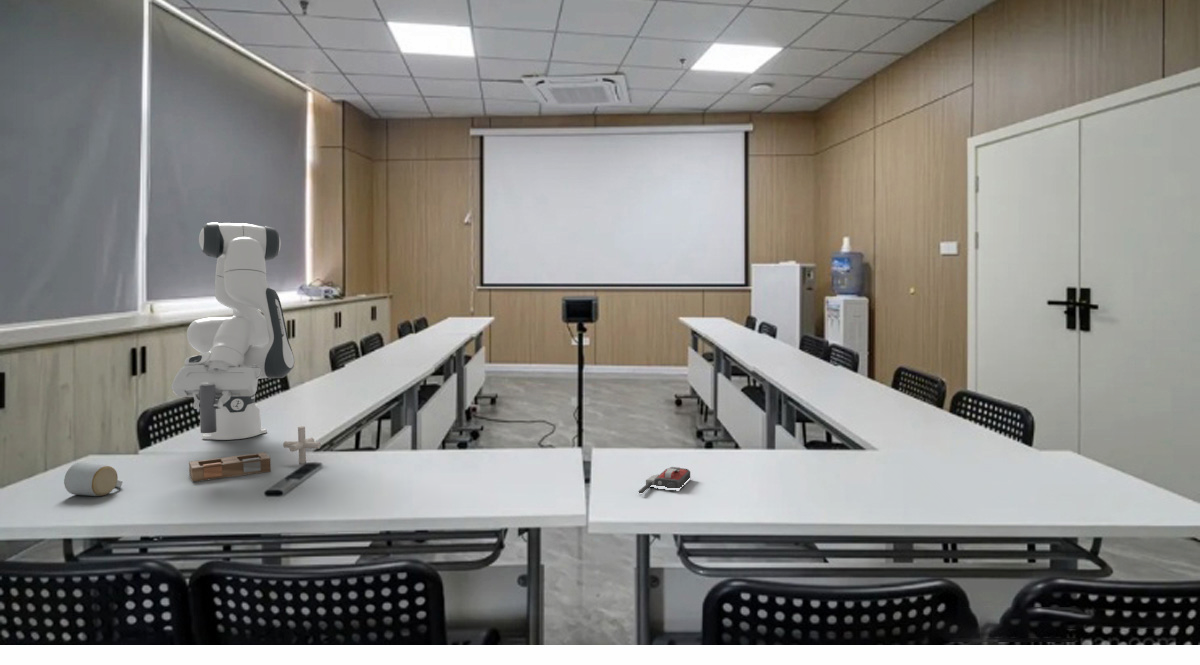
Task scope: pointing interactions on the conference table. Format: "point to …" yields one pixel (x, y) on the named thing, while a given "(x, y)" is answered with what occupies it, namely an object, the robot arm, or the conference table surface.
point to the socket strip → (229, 466)
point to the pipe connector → (301, 444)
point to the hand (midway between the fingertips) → (207, 407)
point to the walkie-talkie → (668, 478)
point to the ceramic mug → (91, 479)
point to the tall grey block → (207, 407)
